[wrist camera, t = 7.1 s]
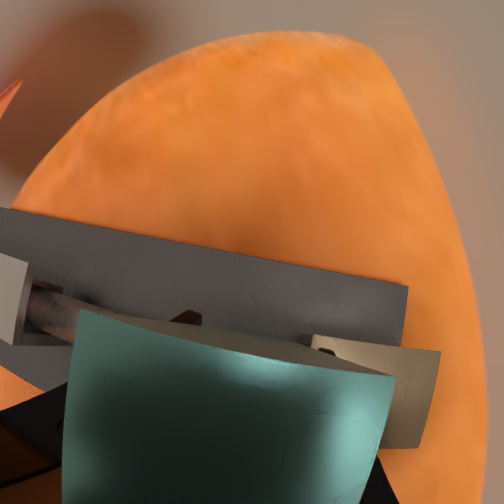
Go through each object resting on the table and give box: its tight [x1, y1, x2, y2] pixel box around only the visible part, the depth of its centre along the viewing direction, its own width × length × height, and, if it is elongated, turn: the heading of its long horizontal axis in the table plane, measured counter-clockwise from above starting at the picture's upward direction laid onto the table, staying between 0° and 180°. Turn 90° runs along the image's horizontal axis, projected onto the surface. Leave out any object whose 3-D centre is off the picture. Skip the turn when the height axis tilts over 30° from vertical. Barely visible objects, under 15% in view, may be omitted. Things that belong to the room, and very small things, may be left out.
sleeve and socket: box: [0, 207, 441, 449], centre depth 13 cm, size 29×10×5 cm, turn 78°
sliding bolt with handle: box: [24, 283, 397, 504], centre depth 8 cm, size 18×3×12 cm, turn 78°
